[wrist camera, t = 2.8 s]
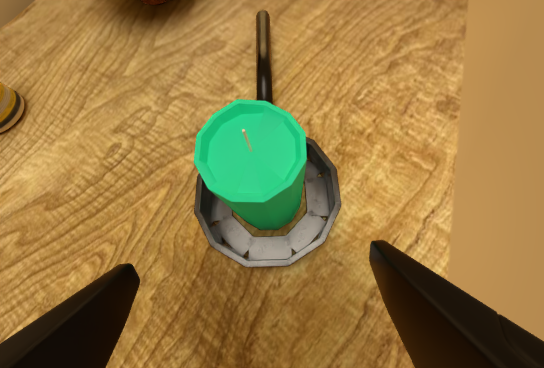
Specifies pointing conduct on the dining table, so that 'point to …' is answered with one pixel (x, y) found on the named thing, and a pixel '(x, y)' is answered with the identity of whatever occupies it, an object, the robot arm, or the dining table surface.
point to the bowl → (153, 2)
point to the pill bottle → (9, 107)
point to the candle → (254, 161)
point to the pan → (318, 192)
